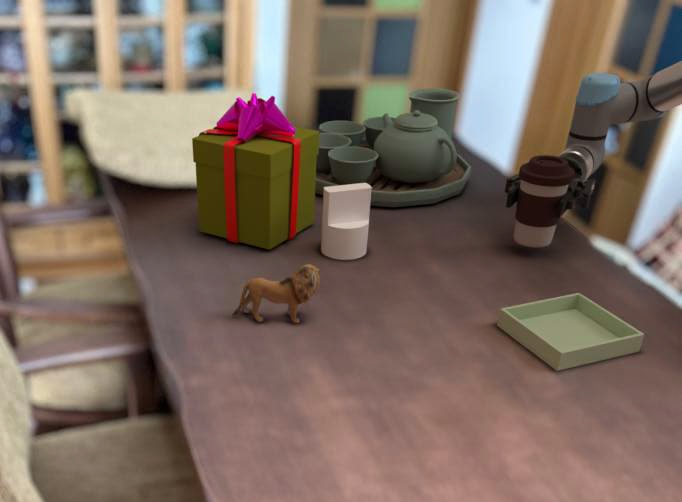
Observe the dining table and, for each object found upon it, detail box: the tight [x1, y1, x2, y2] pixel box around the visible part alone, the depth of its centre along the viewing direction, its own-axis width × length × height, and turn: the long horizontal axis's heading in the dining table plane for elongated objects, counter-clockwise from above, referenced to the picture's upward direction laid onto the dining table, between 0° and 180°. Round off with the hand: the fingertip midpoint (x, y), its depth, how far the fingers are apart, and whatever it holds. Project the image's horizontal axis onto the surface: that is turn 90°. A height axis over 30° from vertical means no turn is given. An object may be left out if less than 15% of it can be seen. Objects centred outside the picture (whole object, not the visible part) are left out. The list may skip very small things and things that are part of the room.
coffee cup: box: [513, 154, 575, 248], centre depth 156 cm, size 10×10×15 cm
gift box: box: [191, 92, 320, 250], centre depth 161 cm, size 21×21×25 cm
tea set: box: [315, 87, 472, 208], centre depth 187 cm, size 40×40×16 cm
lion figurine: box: [231, 263, 321, 324], centre depth 137 cm, size 15×5×9 cm, turn 94°
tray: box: [496, 292, 646, 372], centre depth 134 cm, size 16×16×3 cm
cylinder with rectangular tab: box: [320, 183, 372, 261], centre depth 158 cm, size 9×9×12 cm
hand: (534, 205), depth 152 cm, fingers closed on coffee cup, 9 cm apart
